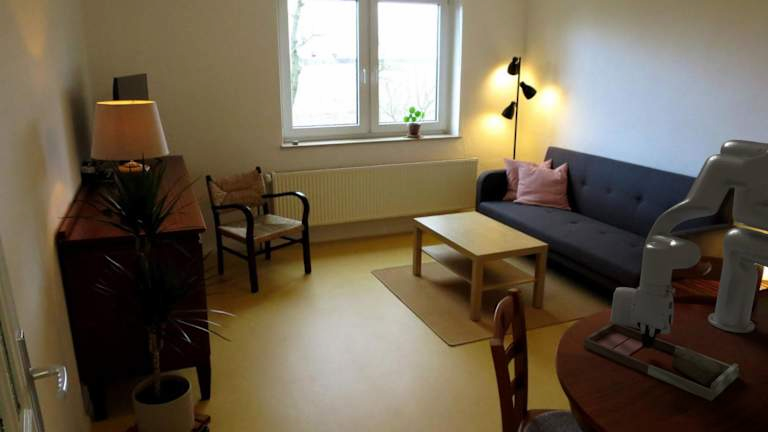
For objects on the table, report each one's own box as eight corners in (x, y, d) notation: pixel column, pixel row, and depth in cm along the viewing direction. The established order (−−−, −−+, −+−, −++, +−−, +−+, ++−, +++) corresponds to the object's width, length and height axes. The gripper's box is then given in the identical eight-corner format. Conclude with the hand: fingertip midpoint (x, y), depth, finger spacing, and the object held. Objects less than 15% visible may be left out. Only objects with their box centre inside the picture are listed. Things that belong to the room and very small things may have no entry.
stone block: (706, 388, 144) (709, 371, 143) (668, 366, 155) (670, 349, 153) (722, 383, 146) (725, 366, 145) (684, 362, 157) (686, 345, 155)
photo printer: (645, 325, 177) (650, 289, 174) (644, 331, 174) (648, 294, 170) (611, 318, 183) (615, 283, 179) (609, 323, 179) (613, 287, 176)
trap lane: (612, 329, 175) (613, 317, 174) (737, 376, 149) (740, 363, 148) (582, 346, 165) (583, 334, 164) (711, 401, 139) (713, 386, 137)
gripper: (689, 291, 150) (680, 351, 156) (635, 275, 161) (628, 332, 167) (676, 299, 146) (668, 361, 151) (621, 282, 157) (615, 341, 162)
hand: (647, 346), depth 159 cm, fingers closed
